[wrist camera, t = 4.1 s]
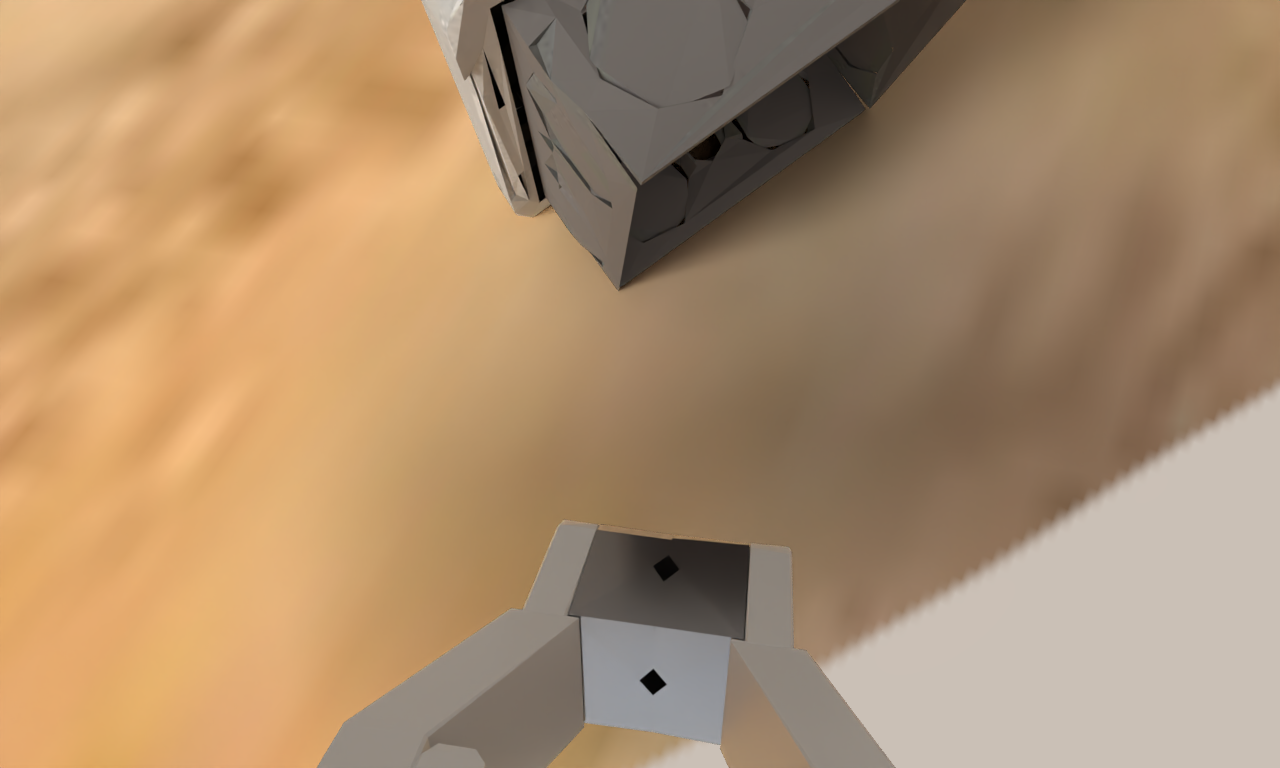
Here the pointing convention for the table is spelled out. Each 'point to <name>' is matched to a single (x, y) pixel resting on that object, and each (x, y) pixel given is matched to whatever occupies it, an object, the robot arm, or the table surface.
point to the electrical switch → (664, 101)
